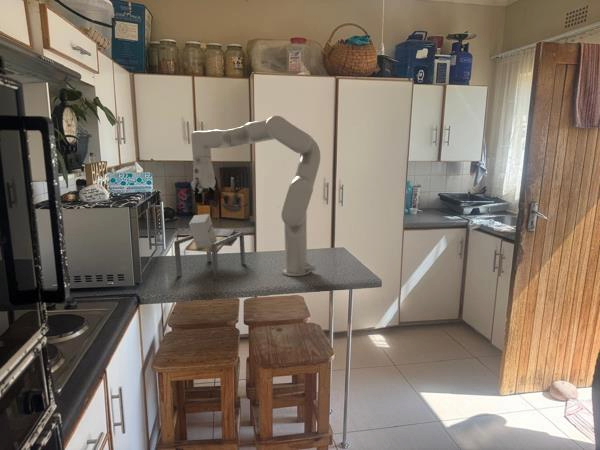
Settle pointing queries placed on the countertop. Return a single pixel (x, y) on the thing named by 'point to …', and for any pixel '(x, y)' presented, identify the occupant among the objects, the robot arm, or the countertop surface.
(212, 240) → the supplement box
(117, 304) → the countertop surface
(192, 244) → the trapdoor
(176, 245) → the frame
